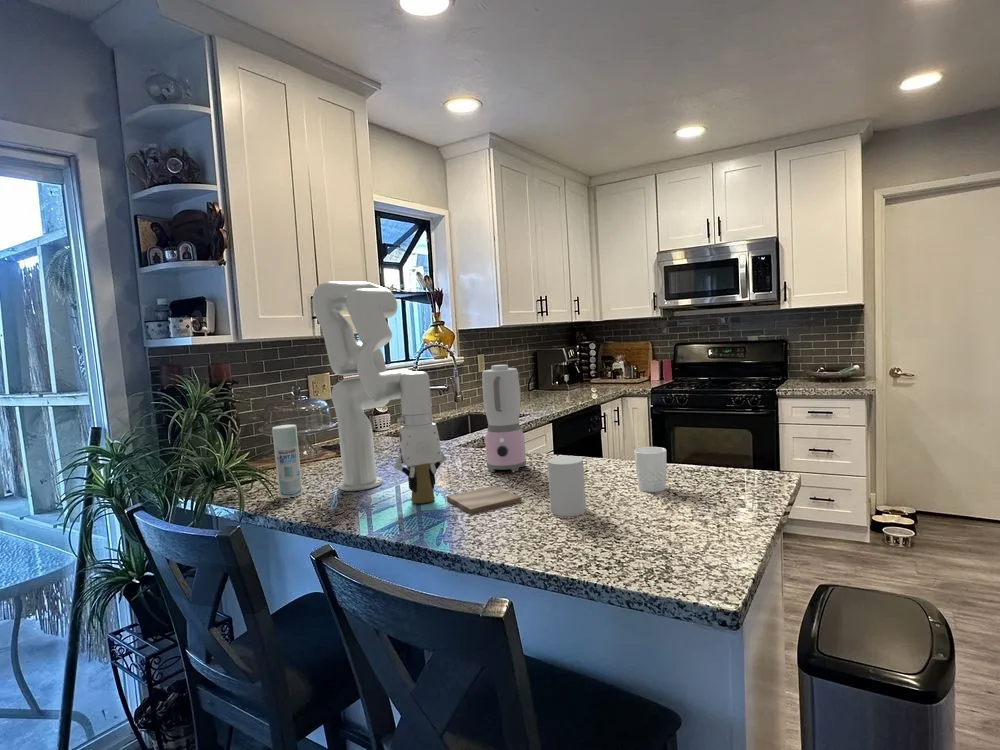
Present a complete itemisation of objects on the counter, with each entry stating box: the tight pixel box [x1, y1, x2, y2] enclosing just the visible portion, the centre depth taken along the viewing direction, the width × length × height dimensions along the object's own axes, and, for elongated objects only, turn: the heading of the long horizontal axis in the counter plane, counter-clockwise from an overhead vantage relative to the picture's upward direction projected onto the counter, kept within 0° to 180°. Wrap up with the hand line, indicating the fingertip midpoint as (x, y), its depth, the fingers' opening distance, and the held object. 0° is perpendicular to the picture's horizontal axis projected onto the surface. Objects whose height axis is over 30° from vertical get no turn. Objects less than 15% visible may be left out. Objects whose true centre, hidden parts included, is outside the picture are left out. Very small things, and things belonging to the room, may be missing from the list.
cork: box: [411, 464, 435, 504], centre depth 148 cm, size 6×6×11 cm
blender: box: [481, 364, 527, 473], centre depth 175 cm, size 16×12×32 cm
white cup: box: [633, 446, 667, 493], centre depth 146 cm, size 8×8×10 cm
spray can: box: [271, 424, 304, 499], centre depth 164 cm, size 6×6×20 cm
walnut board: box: [446, 485, 522, 515], centre depth 145 cm, size 14×14×1 cm
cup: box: [547, 455, 587, 517], centre depth 133 cm, size 8×8×12 cm
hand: (422, 488), depth 149 cm, fingers closed on cork, 4 cm apart
